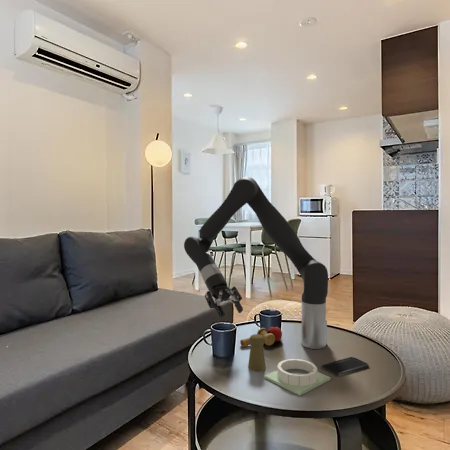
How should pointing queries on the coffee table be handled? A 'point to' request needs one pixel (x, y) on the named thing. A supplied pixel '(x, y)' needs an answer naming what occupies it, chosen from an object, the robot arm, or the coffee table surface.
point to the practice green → (297, 376)
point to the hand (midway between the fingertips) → (232, 314)
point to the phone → (345, 366)
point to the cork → (256, 353)
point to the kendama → (266, 336)
